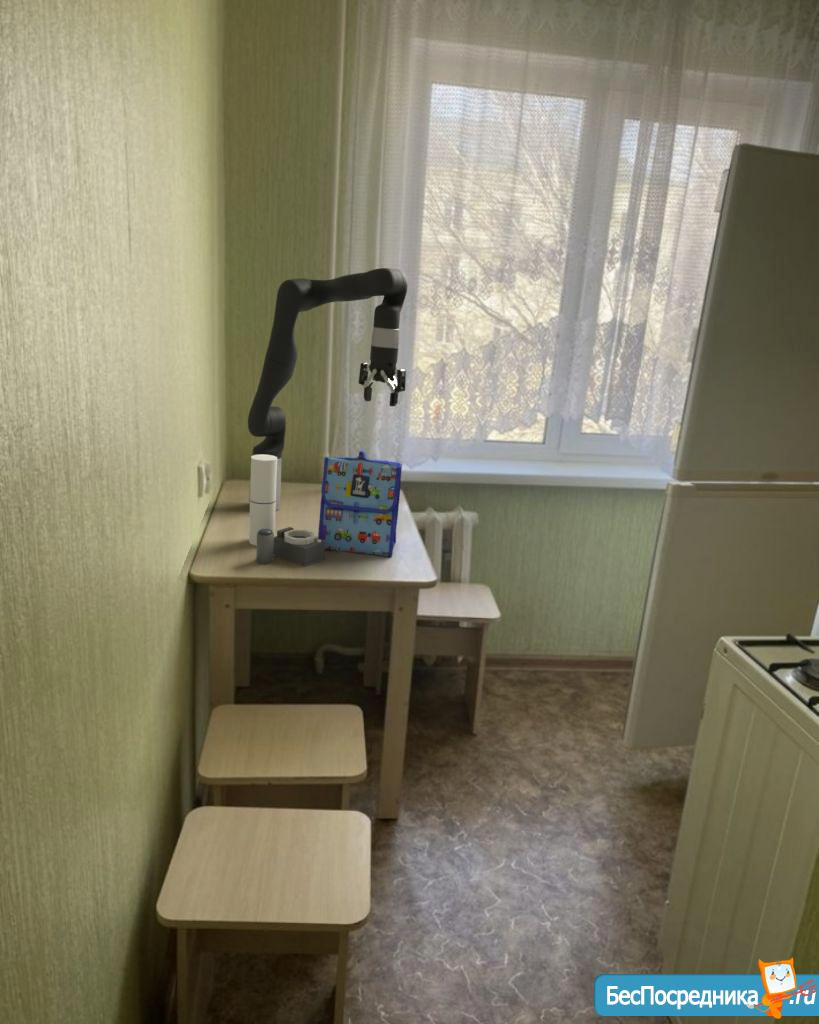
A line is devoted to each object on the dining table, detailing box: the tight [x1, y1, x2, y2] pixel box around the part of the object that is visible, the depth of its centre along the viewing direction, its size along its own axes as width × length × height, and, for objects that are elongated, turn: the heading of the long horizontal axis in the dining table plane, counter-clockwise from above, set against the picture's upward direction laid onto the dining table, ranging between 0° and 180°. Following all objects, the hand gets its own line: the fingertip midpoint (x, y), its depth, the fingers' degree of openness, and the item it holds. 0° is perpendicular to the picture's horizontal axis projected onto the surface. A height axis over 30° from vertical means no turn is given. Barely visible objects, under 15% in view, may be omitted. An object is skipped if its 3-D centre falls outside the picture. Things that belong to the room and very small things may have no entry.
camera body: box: [273, 526, 326, 567], centre depth 209 cm, size 12×8×7 cm, turn 56°
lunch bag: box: [317, 449, 403, 557], centre depth 218 cm, size 22×14×29 cm, turn 87°
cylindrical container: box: [248, 454, 277, 547], centre depth 215 cm, size 7×7×25 cm
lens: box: [255, 529, 275, 565], centre depth 204 cm, size 4×4×9 cm
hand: (380, 403), depth 213 cm, fingers open, 8 cm apart
